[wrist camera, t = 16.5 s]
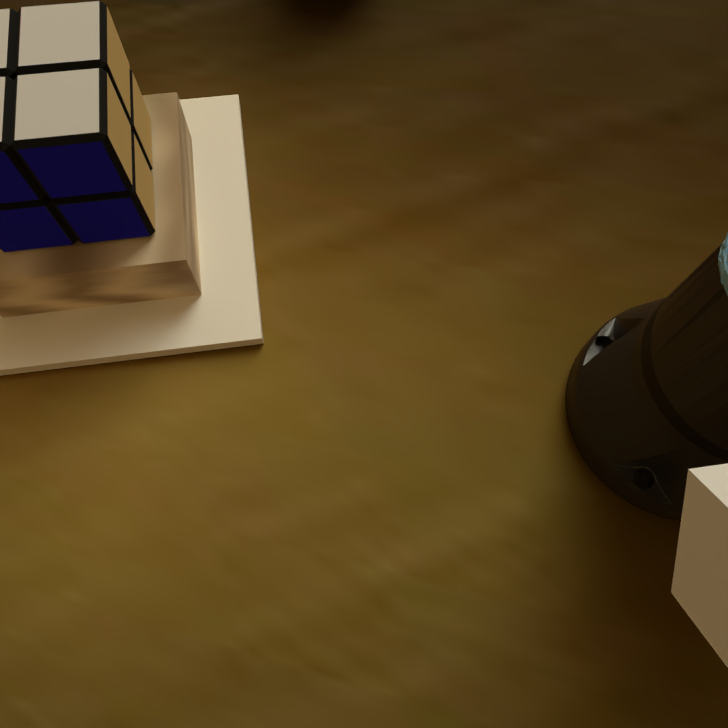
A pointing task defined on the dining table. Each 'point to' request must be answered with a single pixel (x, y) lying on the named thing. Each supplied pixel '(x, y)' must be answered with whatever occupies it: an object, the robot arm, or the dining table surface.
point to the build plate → (172, 315)
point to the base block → (121, 241)
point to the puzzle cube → (70, 131)
